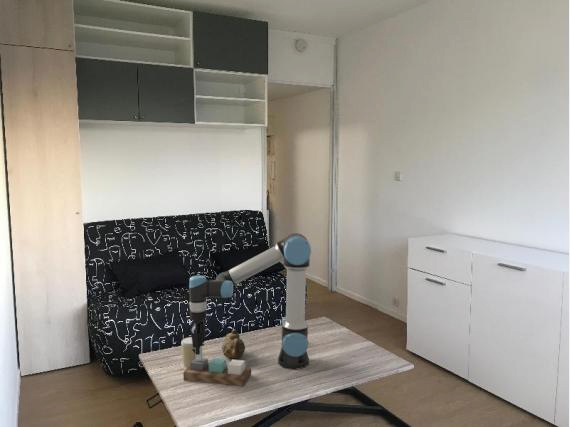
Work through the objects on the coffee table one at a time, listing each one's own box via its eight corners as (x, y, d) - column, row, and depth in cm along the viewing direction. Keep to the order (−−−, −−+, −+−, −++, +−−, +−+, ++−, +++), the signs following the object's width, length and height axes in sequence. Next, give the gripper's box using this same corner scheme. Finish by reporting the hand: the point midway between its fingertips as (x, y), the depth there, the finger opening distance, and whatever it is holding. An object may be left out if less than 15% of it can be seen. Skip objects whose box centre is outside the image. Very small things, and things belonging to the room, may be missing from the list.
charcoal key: (207, 369, 218) (207, 358, 217) (202, 374, 212) (202, 364, 211) (195, 367, 219) (195, 357, 219) (190, 373, 213) (190, 362, 213)
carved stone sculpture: (218, 352, 243) (218, 323, 242) (240, 349, 247) (240, 321, 245) (226, 368, 223) (226, 338, 222) (250, 365, 227) (250, 335, 225)
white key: (244, 371, 213) (244, 360, 213) (240, 377, 208) (240, 366, 207) (232, 370, 215) (232, 359, 214) (227, 375, 209) (227, 364, 209)
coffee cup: (196, 369, 223) (196, 344, 222) (178, 367, 225) (177, 343, 224) (204, 361, 232) (203, 337, 231) (186, 359, 234) (185, 336, 233)
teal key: (226, 369, 216) (226, 358, 215) (221, 374, 210) (221, 364, 209) (214, 368, 217) (213, 357, 216) (208, 373, 211) (208, 362, 211)
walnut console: (251, 375, 216) (251, 366, 216) (242, 387, 205) (242, 378, 204) (194, 369, 223) (194, 361, 222) (183, 380, 211) (183, 371, 211)
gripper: (196, 305, 220) (197, 354, 222) (184, 313, 207) (185, 365, 210) (211, 306, 218) (212, 355, 220) (200, 315, 205) (200, 366, 208)
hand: (198, 360), depth 215 cm, fingers closed
